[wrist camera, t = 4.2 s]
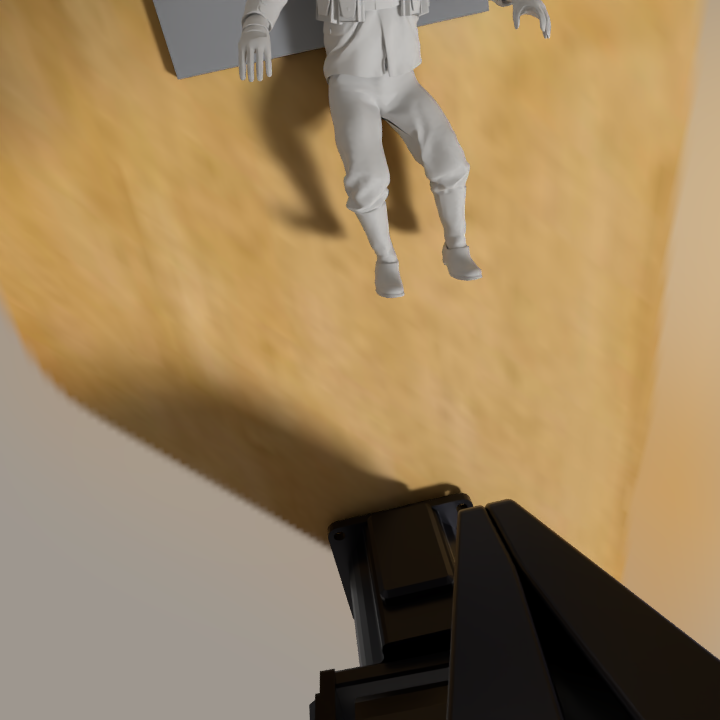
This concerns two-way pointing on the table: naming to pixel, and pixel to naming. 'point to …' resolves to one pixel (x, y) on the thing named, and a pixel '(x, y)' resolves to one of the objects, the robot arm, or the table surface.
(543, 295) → the table surface
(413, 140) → the soldier figure
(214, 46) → the board
